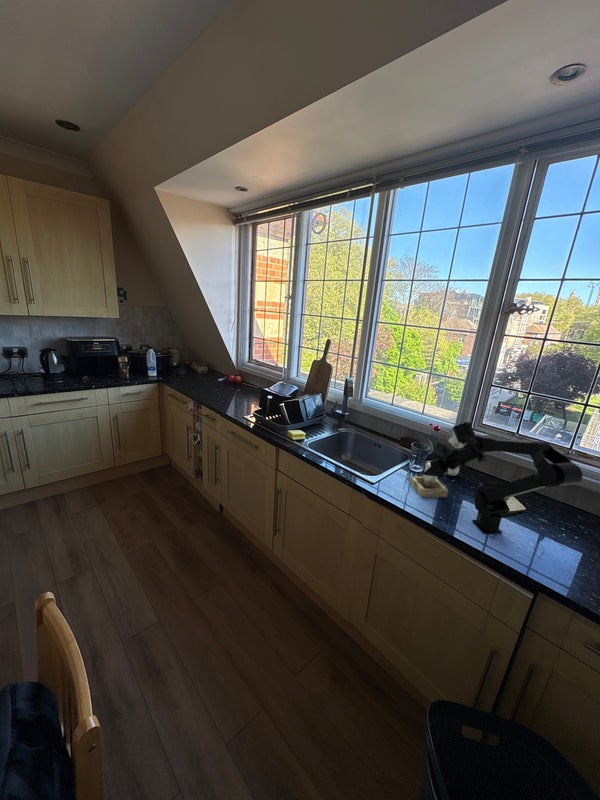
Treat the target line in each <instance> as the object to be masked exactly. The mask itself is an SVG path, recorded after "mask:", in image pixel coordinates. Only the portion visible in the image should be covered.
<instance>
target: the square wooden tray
mask: <svg viewBox="0 0 600 800" xmlns="http://www.w3.org/2000/svg"><path fill="white" fill-rule="evenodd" d="M409 479H410V480H409V484H410V486H412V488H413V489H414V490H415V491H416V492H417V494H418V495H419V496H420V497H421V498H448V494H449V489H448V488H447V487H446V486H445V485H444V484H443V483H442V482H440V480H439V479H437V482H436V489H424V488H423V487H422V486H421V483H422V481H423V476H410V477H409Z"/></svg>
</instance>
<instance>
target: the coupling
mask: <svg viewBox="0 0 600 800" xmlns="http://www.w3.org/2000/svg"><path fill="white" fill-rule="evenodd" d="M431 461H432V460H427V461H426V462H425V467H424V472H425V471H426V470H427V469H429V468H430V467H431V465H430V462H431ZM424 472H423V473H424ZM422 477H423V481H422V483H421V486H422V487H423V488H424V489H436V482H437V480H438V477H437V476H428V475H424V474H423V476H422Z"/></svg>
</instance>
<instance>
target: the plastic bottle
mask: <svg viewBox="0 0 600 800" xmlns="http://www.w3.org/2000/svg"><path fill="white" fill-rule="evenodd" d="M447 441H448V442H450V443H451V444H452V445H453V446H454V447H455V448H456V449H457V448H461V447H463V446H465V445H462V443H460V444H459V443H458V441H457V438H456V436H455V434H454V432H453V433H452V436H451V437H450V438H449V439H448V440H447ZM459 472H460V467H458V468H456V469H454V470H451V468H448V474H446V475H448V476H453V477H455V476H457V475H458V474H459Z"/></svg>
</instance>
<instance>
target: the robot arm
mask: <svg viewBox="0 0 600 800" xmlns="http://www.w3.org/2000/svg"><path fill="white" fill-rule="evenodd" d="M452 431H453V433H454V434H455V436H456V438H457V441H458V443H459V444H460V443H462V445H464V446H463V447H461V448H457V449H456V448H455V447H454V446H453V445H452V444H451V443H450V442H448V440H447V439H446V438H441V439H439V440H438V442H436V443H435V445H434V448H435V449H436V450H437V451H438V452H439V453H441V454H443V455H442V457H443V459H442V458H439V457H438V458H435V459H433V460H430V461H431V462H430V465H431V467H430V468H429V469H427V470H426V471H425V470H424V471H425V472H423V476H424V475H428V476H437V478H439V479H440V478H444V477H445V476H446V475H447V474H448V468H451V470H454V469H456V468H458V467H459V468H460V467H463V466H465V465H468V464H469V463H471V462H474V461H476V460H478V462H479V463H485V464H486V463H487V460H488V459H487V458H488V457H489V456H488V455H487V454H485V453H497V452H503V453H511V454H520V455H529V456H530V457H531V459H532V462H533V465H534V467H535V469H536V471H535V473H533V474H531V475H528V476H525V477H521V478H519V479H516V480H512V481H510V482H506V483H502V481H499V482H498V481H496V482H487V483H484V484H482V485H477V488H475V490H474V507H475V509H476V510H477V515H476V519H472V521H471V522H472V523H473V524H474V525H475V526H476V527H477V528H478V529H479V530H480V531H481V532H482V533H483V534H485V535H486V534H487V535H488V534H489V535H491V534H494V535H495V534H496V535H497V534H502V533H503V531H502V530H501V529H500V525H501V521H502V519H503V517H502V515H508V514H509V512H510V511H511V509H510V507H509V505H508V502H507V501H509V499H510V498H512V497H515V496H520V495H523V494H526V493H529V492H533V491H534V492H535V491H538V490H541V489H544V488H547V487H549V488H550V487H560V486H574V485H578V484H581V482H582V481H583V471H582V469H581V468H580V466H578V464H576V463H574V462H573V461H572V460H571V459H570V458H569V457H567V456H566V455H565V454H562V452H560V451H558V450H557V449H555V448H554V447H553V446H552V445H551V444H549V442H546V441H545V440H543V441H532V440H528V441H527V440H514V439H505V438H502V437H501V436H497V435H493V434H489V435H488V434H485V435H484V434H482V435H481V434H476V433H475V432H474V430H473V427H472V425H471V422H469V421H465V422H464V423H463V422H462V423H460V424H456V425H454V426H453V427H452Z"/></svg>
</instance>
